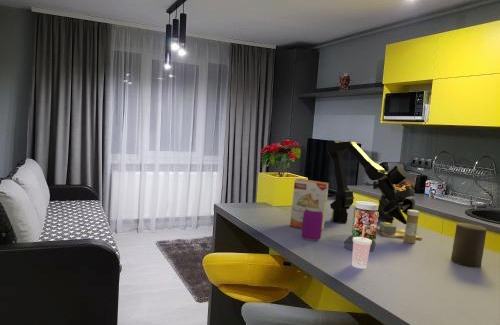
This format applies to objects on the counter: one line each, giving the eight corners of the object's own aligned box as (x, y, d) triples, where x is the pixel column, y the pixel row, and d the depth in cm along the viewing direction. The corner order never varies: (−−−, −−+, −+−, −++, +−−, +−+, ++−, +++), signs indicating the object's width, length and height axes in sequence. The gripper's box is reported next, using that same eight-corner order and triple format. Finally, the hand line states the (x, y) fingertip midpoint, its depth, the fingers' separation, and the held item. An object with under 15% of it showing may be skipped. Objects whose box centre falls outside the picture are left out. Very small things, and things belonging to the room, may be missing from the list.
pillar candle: (470, 268, 138) (476, 226, 136) (445, 259, 146) (451, 219, 145) (487, 266, 142) (493, 225, 141) (461, 257, 151) (467, 218, 149)
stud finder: (383, 232, 173) (384, 225, 173) (379, 228, 180) (380, 221, 180) (395, 233, 173) (396, 226, 173) (390, 229, 180) (391, 222, 180)
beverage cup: (365, 271, 127) (370, 228, 125) (347, 266, 130) (351, 224, 129) (371, 266, 132) (376, 224, 131) (352, 261, 135) (357, 221, 134)
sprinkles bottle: (409, 240, 169) (413, 209, 167) (417, 243, 165) (421, 211, 163) (401, 240, 167) (405, 209, 165) (409, 244, 163) (413, 211, 161)
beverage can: (298, 238, 157) (301, 208, 155) (304, 234, 163) (307, 205, 162) (316, 242, 153) (320, 212, 152) (323, 238, 160) (326, 209, 159)
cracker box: (289, 226, 174) (294, 179, 172) (293, 223, 180) (297, 178, 177) (321, 232, 169) (326, 183, 167) (324, 229, 174) (329, 182, 172)
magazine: (379, 213, 212) (389, 190, 205) (390, 229, 201) (400, 206, 193) (373, 212, 211) (382, 189, 204) (383, 229, 200) (393, 205, 193)
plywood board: (384, 236, 171) (384, 234, 171) (376, 229, 183) (376, 227, 183) (421, 240, 170) (422, 237, 170) (411, 232, 182) (411, 230, 182)
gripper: (392, 181, 161) (416, 214, 154) (413, 179, 174) (436, 209, 167) (373, 197, 168) (394, 229, 161) (394, 194, 180) (415, 224, 173)
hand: (411, 222), depth 165 cm, fingers open, 9 cm apart
